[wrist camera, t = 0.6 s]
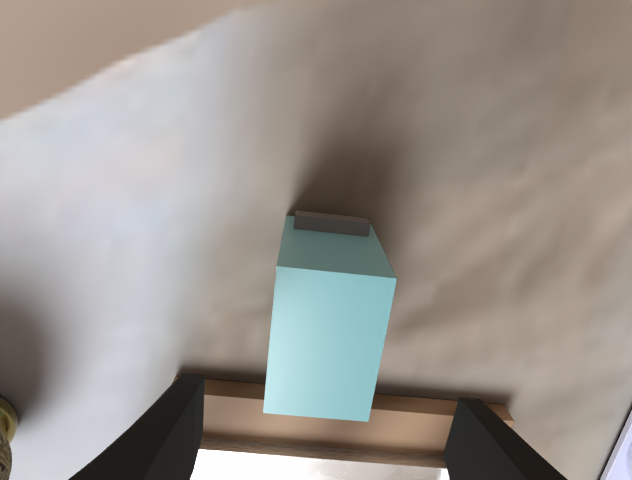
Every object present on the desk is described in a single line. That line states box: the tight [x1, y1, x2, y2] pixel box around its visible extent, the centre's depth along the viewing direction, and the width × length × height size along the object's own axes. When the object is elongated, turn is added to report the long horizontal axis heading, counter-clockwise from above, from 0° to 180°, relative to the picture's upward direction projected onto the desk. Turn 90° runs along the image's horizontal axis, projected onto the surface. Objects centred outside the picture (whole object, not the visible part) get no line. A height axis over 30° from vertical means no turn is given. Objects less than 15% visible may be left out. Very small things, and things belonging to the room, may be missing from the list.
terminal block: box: [263, 210, 397, 422], centre depth 17 cm, size 4×7×6 cm, turn 173°
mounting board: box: [173, 377, 514, 456], centre depth 24 cm, size 18×9×1 cm, turn 83°
